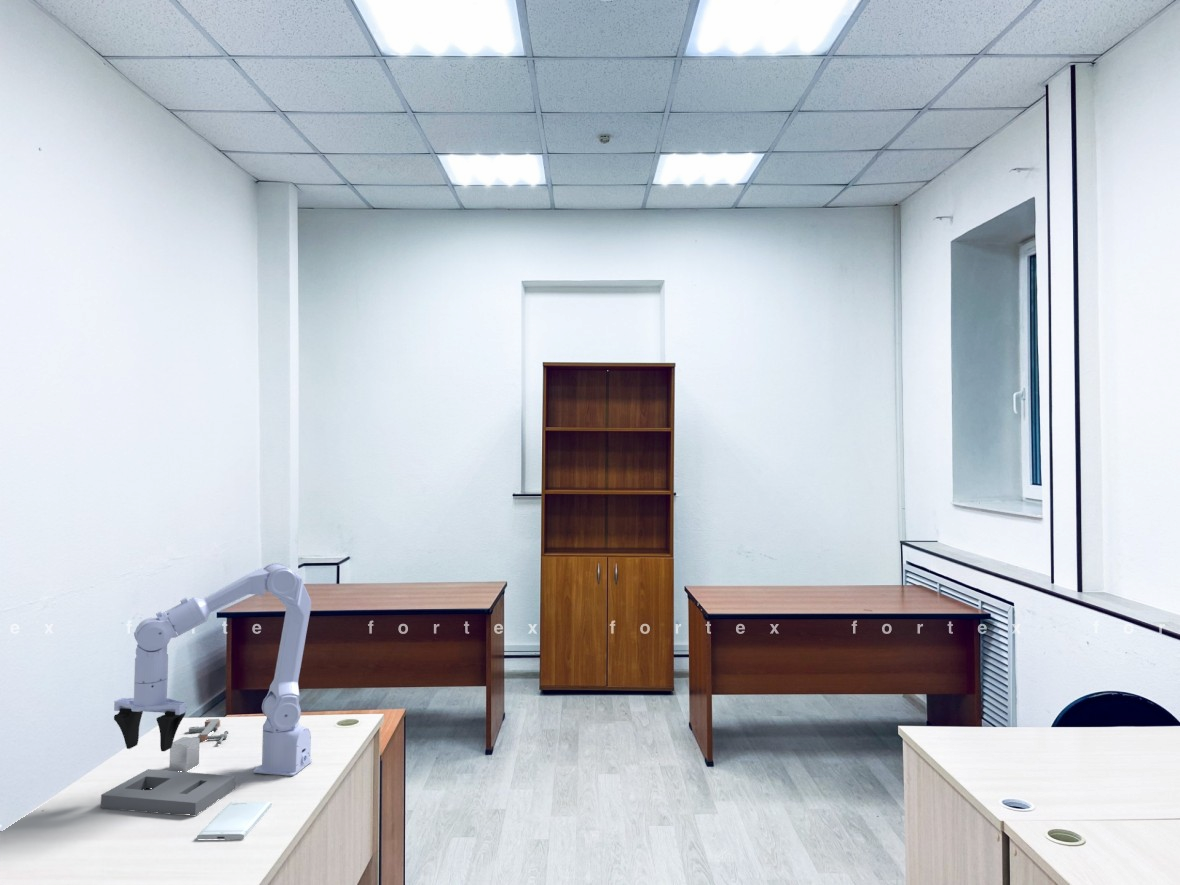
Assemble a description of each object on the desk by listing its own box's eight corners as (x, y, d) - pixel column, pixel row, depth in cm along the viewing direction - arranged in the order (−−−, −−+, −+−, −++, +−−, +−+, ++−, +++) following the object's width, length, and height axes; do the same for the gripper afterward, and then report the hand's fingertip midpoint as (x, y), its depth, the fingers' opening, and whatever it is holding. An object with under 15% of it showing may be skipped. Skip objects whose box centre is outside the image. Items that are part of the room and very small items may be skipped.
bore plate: (235, 788, 148) (235, 776, 148) (195, 816, 136) (195, 802, 136) (147, 781, 151) (148, 769, 151) (100, 808, 139) (101, 794, 139)
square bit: (198, 765, 159) (199, 738, 159) (186, 773, 155) (186, 745, 155) (182, 764, 159) (183, 736, 160) (169, 772, 155) (170, 743, 156)
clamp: (194, 719, 182) (237, 716, 185) (194, 728, 182) (237, 725, 185) (175, 741, 168) (222, 738, 170) (174, 751, 168) (221, 748, 170)
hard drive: (229, 802, 140) (196, 834, 127) (272, 801, 140) (244, 833, 128) (228, 810, 140) (196, 843, 127) (271, 810, 140) (244, 842, 128)
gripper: (102, 683, 142) (100, 753, 141) (169, 687, 140) (167, 758, 139) (130, 673, 149) (128, 740, 148) (194, 677, 147) (192, 744, 146)
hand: (149, 748), depth 144 cm, fingers open, 7 cm apart
